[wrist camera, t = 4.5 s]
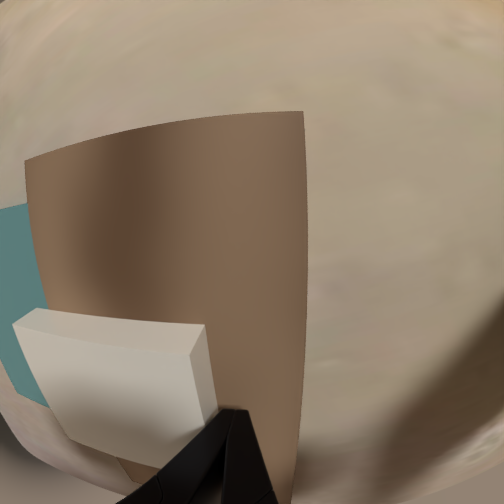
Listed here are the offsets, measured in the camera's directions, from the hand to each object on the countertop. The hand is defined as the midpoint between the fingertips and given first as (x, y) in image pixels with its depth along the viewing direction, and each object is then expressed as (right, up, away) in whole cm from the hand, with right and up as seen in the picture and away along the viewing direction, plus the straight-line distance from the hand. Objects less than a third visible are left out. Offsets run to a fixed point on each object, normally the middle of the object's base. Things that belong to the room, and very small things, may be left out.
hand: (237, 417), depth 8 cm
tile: (-4, 0, 0) cm, 4 cm away
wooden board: (-2, +1, +4) cm, 4 cm away
